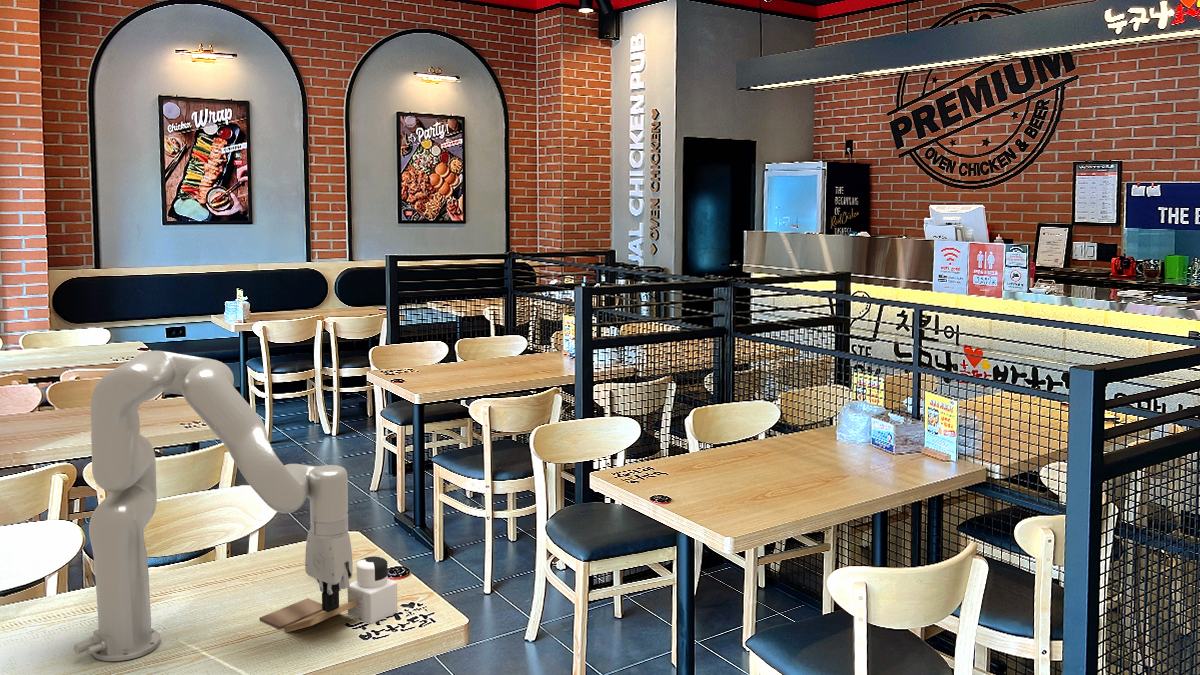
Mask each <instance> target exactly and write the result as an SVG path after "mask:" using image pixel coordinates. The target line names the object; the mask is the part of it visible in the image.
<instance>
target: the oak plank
mask: <svg viewBox="0 0 1200 675" xmlns="http://www.w3.org/2000/svg"><path fill="white" fill-rule="evenodd" d="M357 605H359V602H358V600H355V601H351V602H348V601H347V602H346V603H345V602H344V603H341V604H339V608H337V609H335V610H332V611H330V612H326V611H322V612H319V613H317V614H315V615H312V616H310V617H308V618H305V619H303V620H300V621H298V622H296V623H293V624H291V625H289V626H286V627H284V628H283V631H284V632H285V633H289V632H293V631H297V630H300V629H304V628H309V627H311V626H314V625H316V624H318V623H322V622H323V621H325V620H328V619H330V618H331V617H334V616H336V615H339V614H341V613H344V612H346V611H348V609H351V608H353V607H355V606H357Z"/></svg>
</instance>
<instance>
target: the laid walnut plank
mask: <svg viewBox="0 0 1200 675" xmlns="http://www.w3.org/2000/svg"><path fill="white" fill-rule="evenodd" d="M322 611H323V610H322V602H321V603H320V602H319V601H315V600H314V599H310V598H309V597H307V598H304V599H302V600H299V601H297V602H295V603H293V604H289V605H288V606H285V607H282V608H280V609H278V610H275V611H273V612H270V613H268V614H265V615H262V616H261V617H258V618H259V621H260V622H262V623H264V624H267V625H269V626H271V627H273V628H276V629H278V630H282V629H283V630H284V627H286V626H289V625H291V624H293V623H296V622H298V621H300V620H303V619H305V618H308V617H310V616H312V615H315V614H317V613H319V612H322Z"/></svg>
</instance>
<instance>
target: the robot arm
mask: <svg viewBox="0 0 1200 675" xmlns="http://www.w3.org/2000/svg"><path fill="white" fill-rule="evenodd" d="M234 379H235V378H234V373H233V371H232V370H231V368H230V367H229V366H228V365H227V364H225V362H224V363H223V362H222V361H219V360H217V359H212V358H208V357H201V356H200V357H199V356H194V355H188V354H183V353H176V352H171V351H164V350H148V351H144V352H142V353H139V354H138V355H137V356H135V357H134V358H132V359H129V360H128V361H127V362H125V363H123V364H121V365H119V366H117V367H115V368H114V369H112V370H111V371H109V372H108V373H106V374H105V375H103V377H101V378H100V379H99V380H98V382H97V383H96V385H95V387H94V388H93V391H92V393H91V397H90V426H91V430H90V433H91V434H90V437H91V438H90V439H91V440H90V442H91V469H92V470H91V473H92V476H93V480H94V481H95V484H96V485H97V486H99V488H100V489H102V490H103V491H106V493H107V494H106V497H104V499H103V500H102V501H101V502H100V503H99V504H98V505H97V507H95V509H94V510H93V513H92V514H91V517H90V520H89V524H88V534H89V540H90V545H91V549H92V555H93V556H92V557H93V565H94V578H95V591H96V605H97V609H96V610H97V623H98V624H97V625H98V629H95V630H93V631H92V632H93V636H90V637H89V639H87V640H85V641H81V642H77V643H74V645H73V651H74V652H75V654H77V655H78V654H80V653H85V652H87V653H88V655H92V656H93V658H94V659H97V660H100V661H104V662H121V661H130V660H132V659H137V658H139V657H143V656H145V655H148V654H149V653H151V652H153V651H154V650H156V648H158V647H159V645H160V644H161V642H162V640H161V634H160V632H158V631H157V630H154V629H152V615H151V614H152V613H151V596H150V595H151V594H150V593H151V592H150V575H149V560H148V552H147V546H146V541H145V535H144V534H145V529H146V526H147V525H148V524H149V522H150V521H151V520H152V518H153V516H154V514H155V513H156V508H157V504H158V503H157V500H158V498H157V495H158V494H157V465H156V463H157V462H156V453H155V450H154V447H153V445H152V443H151V442H150V440H148V438H146V437H145V436H143V435H142V434H141V433H140V428H141V426H140V425H141V423H140V422H141V421H140V416H139V411H138V410H139V407H140V406H141V405H142V404H143V403H145V402H148V401H150V400H153V399H154V398H156V397H158V396H159V395H160V394H162V393H168V394H173V395H181V396H183V398H184V400H185V401H186V403H187V404H188V405H189V406H190V407H191V409H193V411H194V412H195V413H196V415H198V416H199V418H200V419H201V420H202V421H203V422H204V423H205V424H206V425H207V427H208V428H209V429H210V430H211V431H212V432H213V433H214V435H215V436H216V437H218V439H219V440H220V442H222V443H223V445H224V446H225V448H227V451H228V453H229V454H230V456H231V458H232V460H233V461H234V463H235V465H236V467H237V468H238V470H239V471H240V473H241V475H242V476H243V477H244V480H245V481H246V482H247V484H248V485H249V486H250V487H251V489H252V490H253V491H254V492H255V493H256V494H257V495H258V496H259V497H260V499H261V500H262V501H263V503H265V504H266V505H267V506H268V507H269V508H271V509H272V510H273V511H275V512H278V513H281V514H292V513H294V512H296V511H297V510H299V509H300V508H301V507H303V505H304V503H305V502H306V499H308V500H309V510H310V511H309V514H310V515H309V516H310V529H309V530H308V533H307V537H306V543H305V557H304V560H305V562H304V564H305V565H304V568H305V569H304V570H305V573H306V574H307V576H309V577H311V578H313V579H314V580H316V581H317V583H318V587H319V588H318V589H319V590H320V592H321V604H322V610H323V611H326V612H330V611H332V610H335V609H337V608H339V605H340V591H342V590H346V589H347V588H348V587H350V580H351V579H352V577H353V572H354V571H353V570H354V569H353V551H352V550H353V549H352V542H351V537H350V533H349V497H348V496H349V490H348V489H349V488H348V487H349V486H348V485H349V484H348V483H349V482H348V481H349V480H348V478H349V477H348V472H347V469H346V468H345V467H343V466H341V465H336V464H324V465H320V466H318V465H308V464H301V463H288V464H285V465H284V463H283V462H282V461H281V460H280V458H279V457H278V456H277V454H276V452H275V451H274V449H273V447H272V445H271V443H270V441H269V437H268V433H267V429H266V426H265V423H264V422H263V421H264V420H263V419H262V418H261V417H260V415H259V414H258V413H257V412H256V411H255V410H254V409H253V407H252V406H251V405H250V404H249V402H247V400H245V398H244V397H243V395H241V393H240V392H239V391H238V390H237V389H236V387H234V382H235V380H234Z"/></svg>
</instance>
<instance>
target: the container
mask: <svg viewBox="0 0 1200 675" xmlns="http://www.w3.org/2000/svg"><path fill="white" fill-rule="evenodd" d="M388 568H389V566H388V560H386V559H385V558H383V557H380V556H367V557H363V558H362V559H360V560H358V561H357V563H356V580H355V581H352V582H351V583H350V582H349V584H350V587H348V588H346V589H347V603H348V602H351V601H355V600H358V602H359V605H357V606H355V607H353V608H351V609H348V610H347V615H348V616H350V617H353V618H355V619H358V620H360V621H363V622H365V623H368V624H370V625H372V624H375V623H377V622H379V621H381V620H384V619H386V618H387V617H391V615H394V614H396V613H398V582H397V581H395V580H392V579H390V578H388V574H389V573H388Z"/></svg>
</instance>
